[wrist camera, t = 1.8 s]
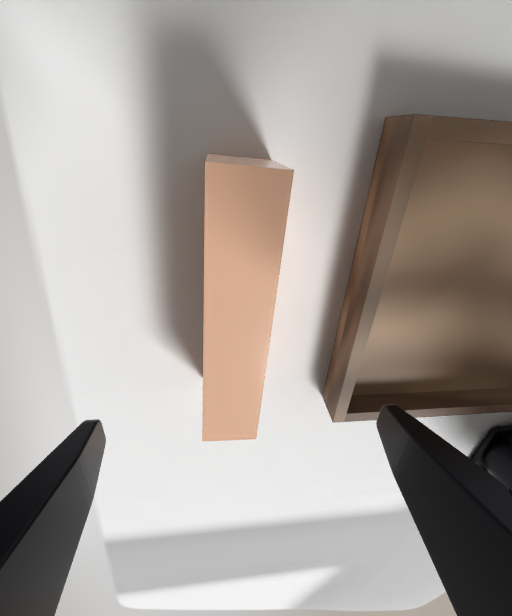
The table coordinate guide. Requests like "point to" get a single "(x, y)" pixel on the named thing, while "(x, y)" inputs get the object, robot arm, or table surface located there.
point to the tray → (430, 276)
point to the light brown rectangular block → (240, 287)
